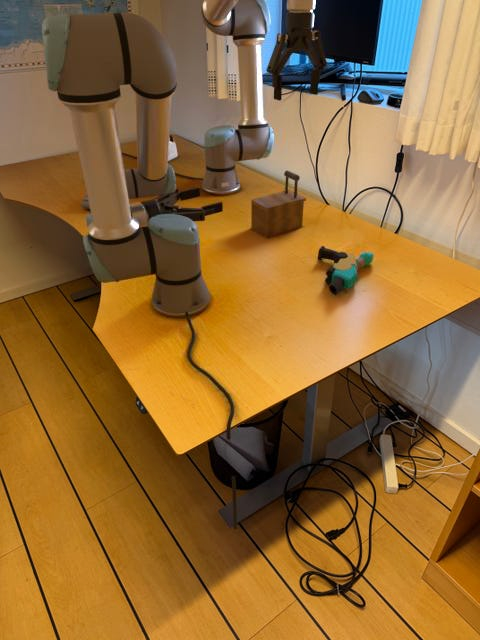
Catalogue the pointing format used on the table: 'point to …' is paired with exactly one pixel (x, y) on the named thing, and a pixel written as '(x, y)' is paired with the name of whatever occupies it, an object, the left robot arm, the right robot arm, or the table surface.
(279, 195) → the lid
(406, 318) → the table surface
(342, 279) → the toy gun
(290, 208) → the chest
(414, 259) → the table surface
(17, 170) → the table surface
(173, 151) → the sneaker
